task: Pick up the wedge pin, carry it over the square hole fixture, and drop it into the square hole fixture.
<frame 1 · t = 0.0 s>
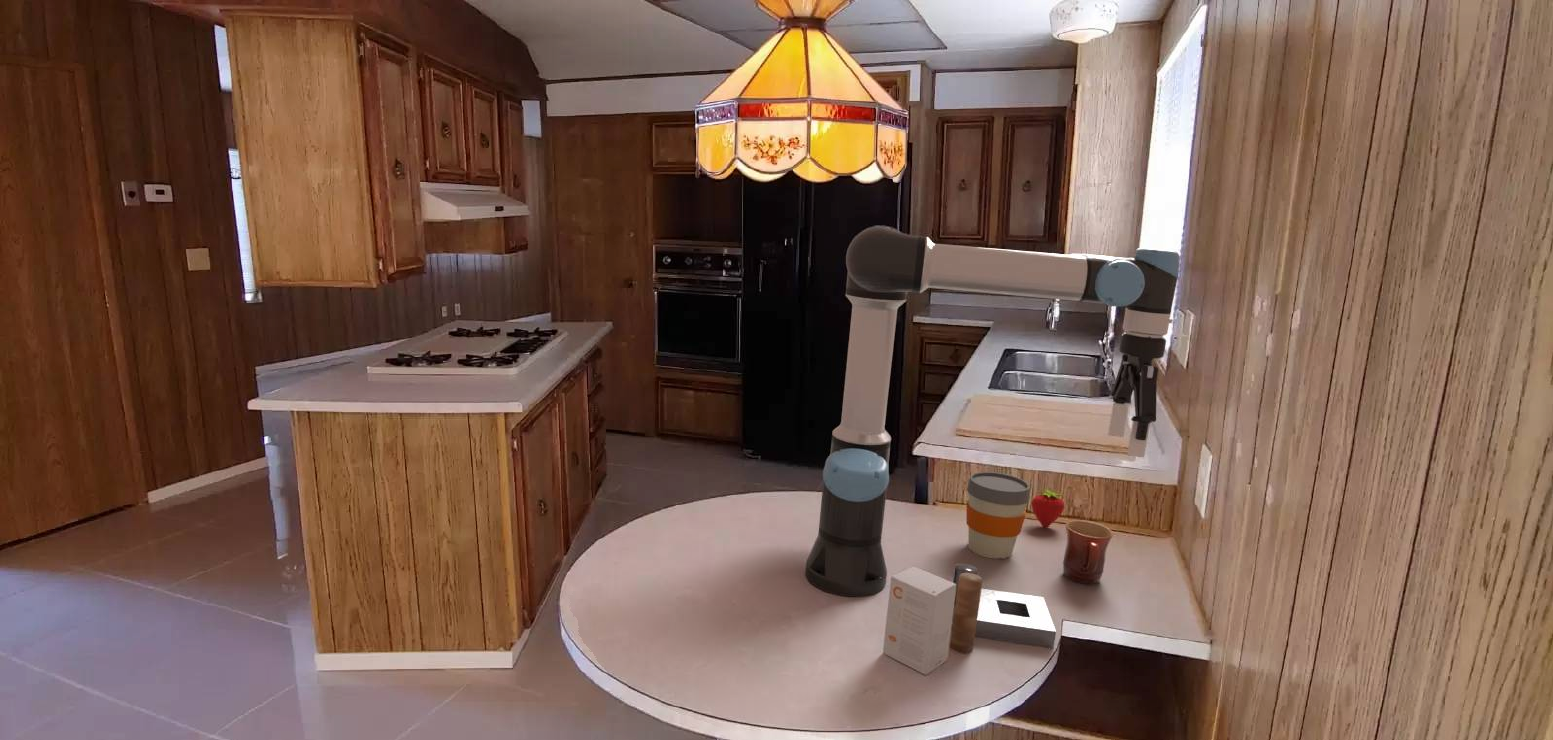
hand: (1125, 445, 150), 28 cm above the counter, fingers open, 13 cm apart
reusable coffee cup: (989, 550, 168), on the counter
wedge pin: (961, 647, 128), on the counter
square hole fixture: (998, 622, 137), on the counter
strawberry: (1044, 527, 183), on the counter
mug: (1082, 582, 156), on the counter
small box: (914, 658, 124), on the counter
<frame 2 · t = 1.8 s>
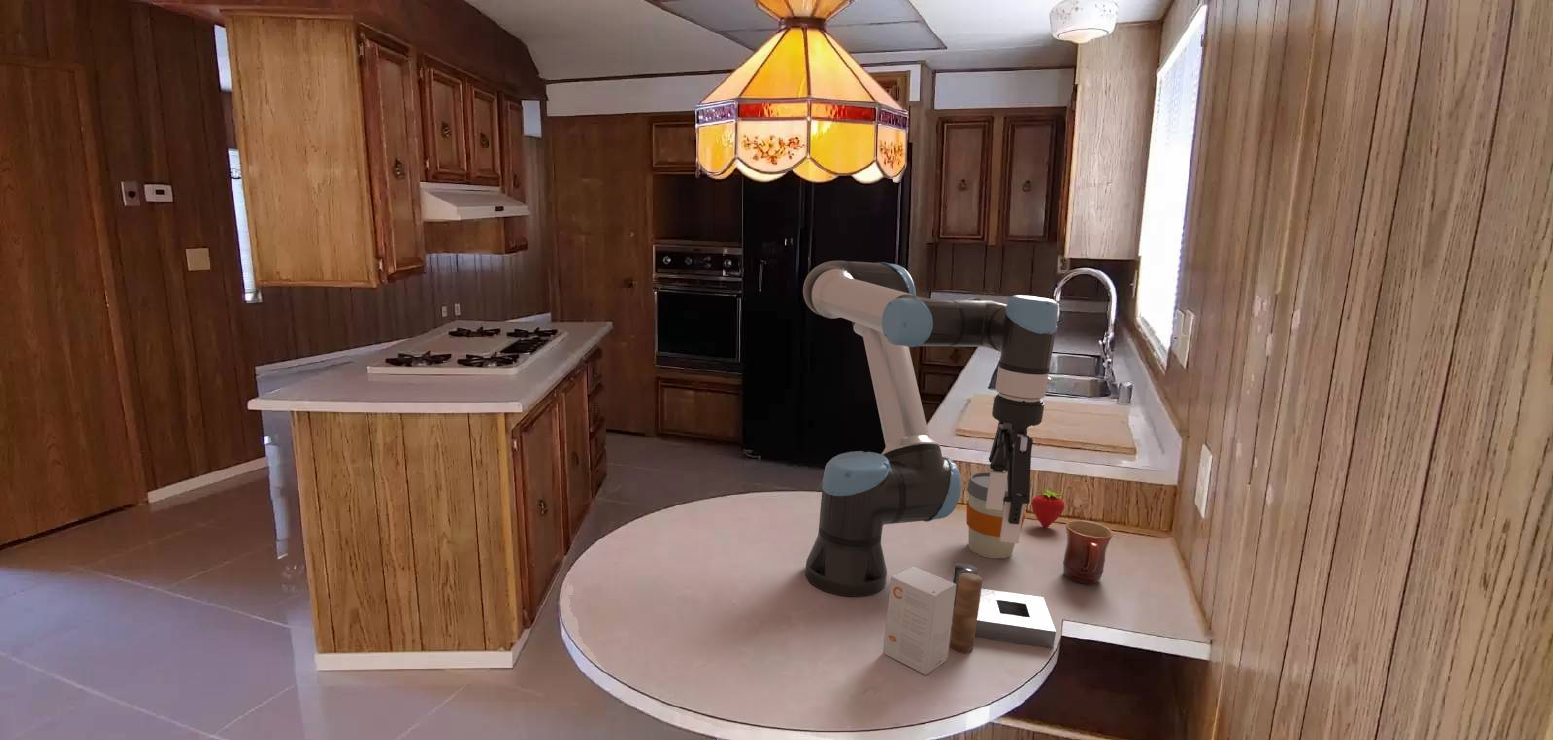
hand: (1000, 524, 128), 20 cm above the counter, fingers open, 13 cm apart
nothing on the counter moved.
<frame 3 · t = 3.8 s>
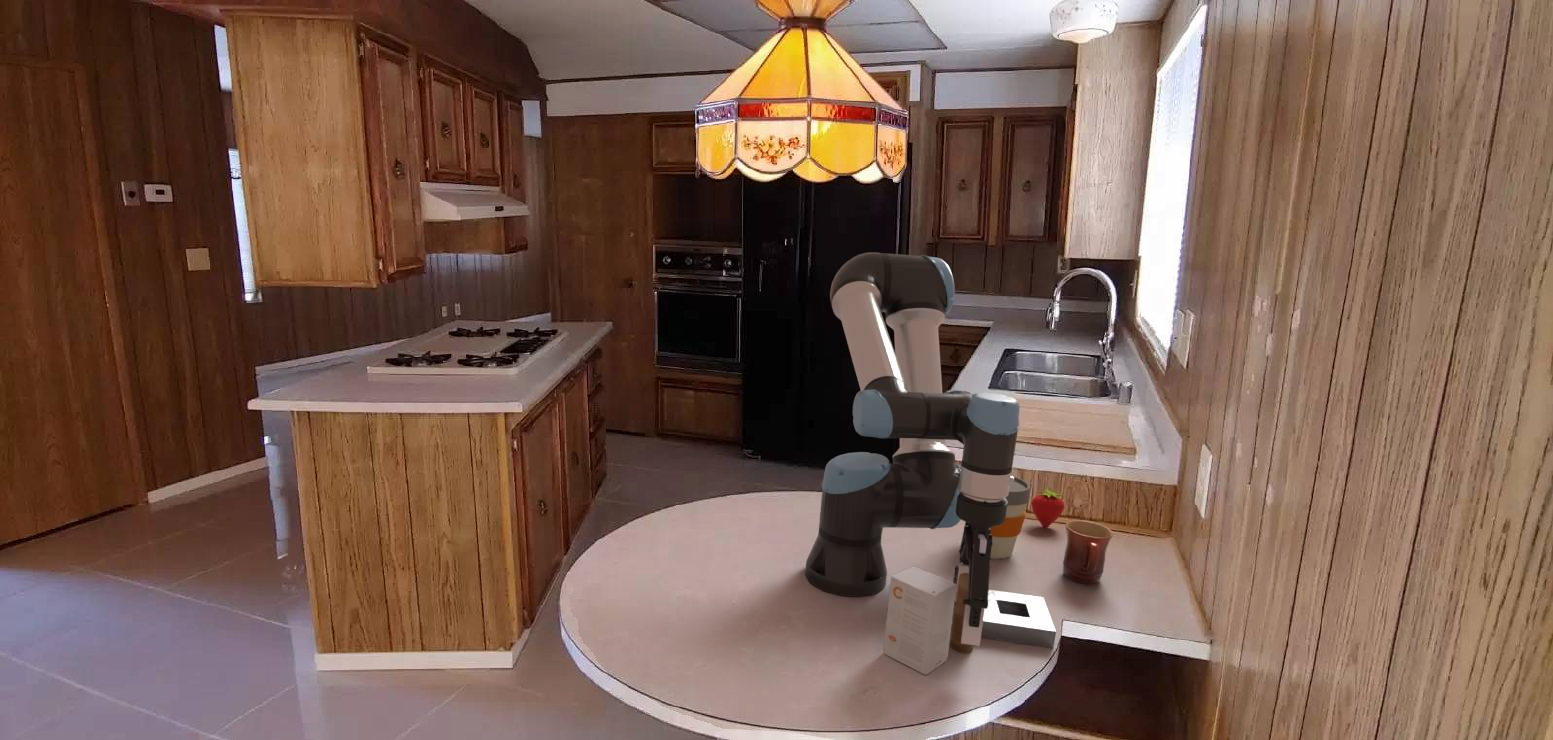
hand: (966, 622, 126), 5 cm above the counter, fingers open, 13 cm apart
nothing on the counter moved.
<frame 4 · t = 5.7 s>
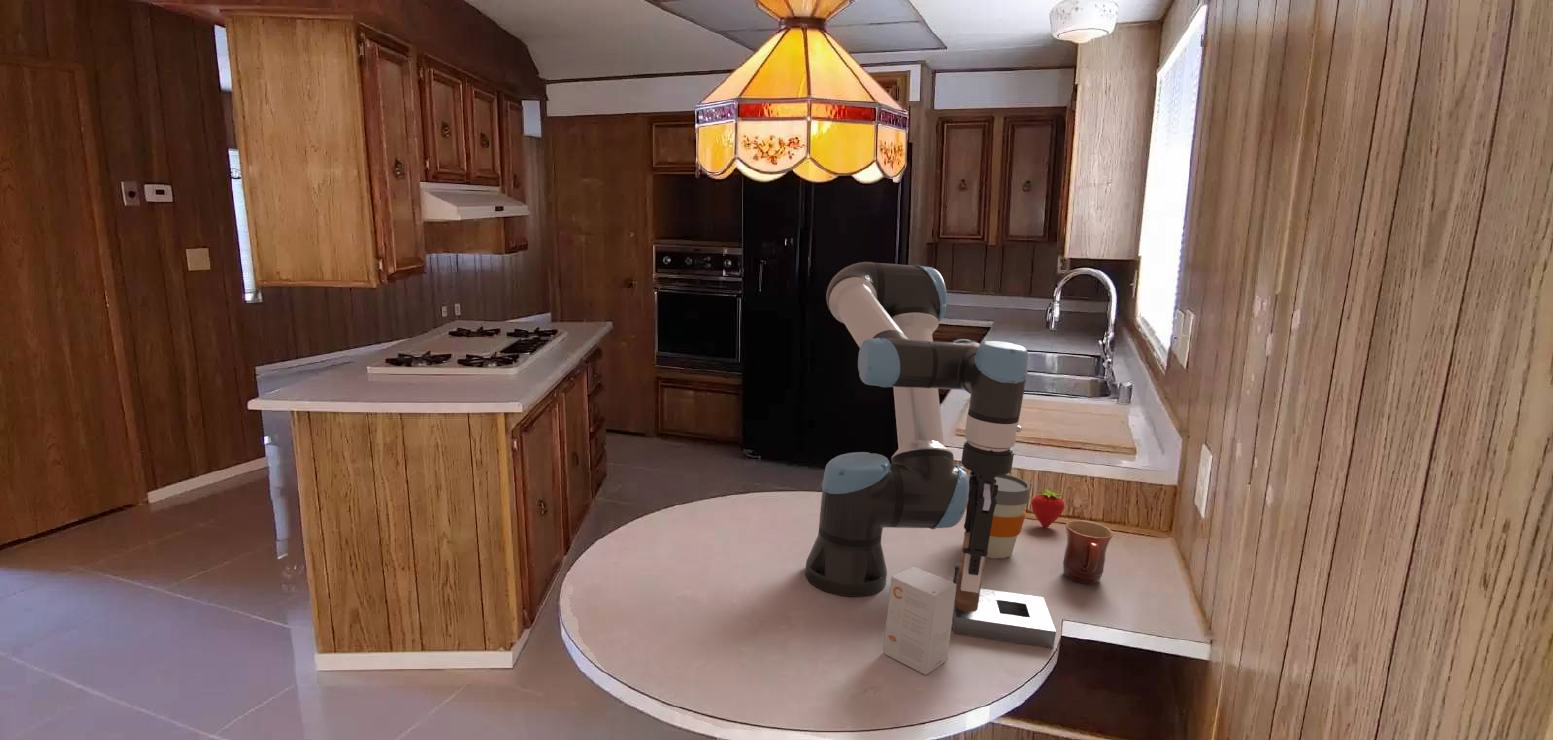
hand: (968, 584, 126), 11 cm above the counter, fingers closed on wedge pin, 3 cm apart
wedge pin: (966, 606, 127), point 7 cm above the counter, touching gripper
everything else where it was.
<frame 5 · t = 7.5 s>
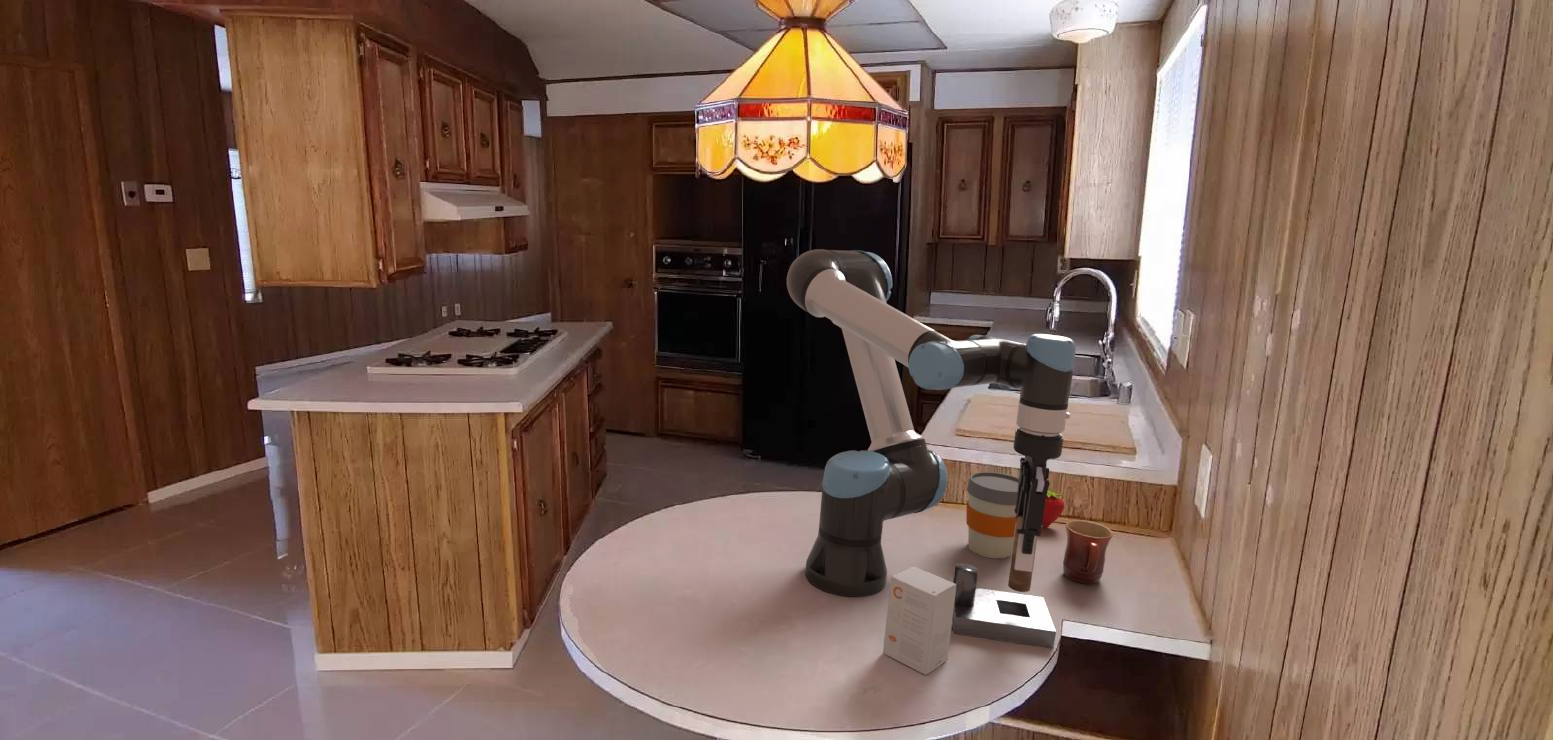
hand: (1021, 564, 134), 11 cm above the counter, fingers closed on wedge pin, 3 cm apart
wedge pin: (1019, 587, 135), point 7 cm above the counter, touching gripper
everything else where it was.
when the fingers open (4 cm above the counter, at t = 9.2 s): wedge pin stays where it is, resting in square hole fixture.
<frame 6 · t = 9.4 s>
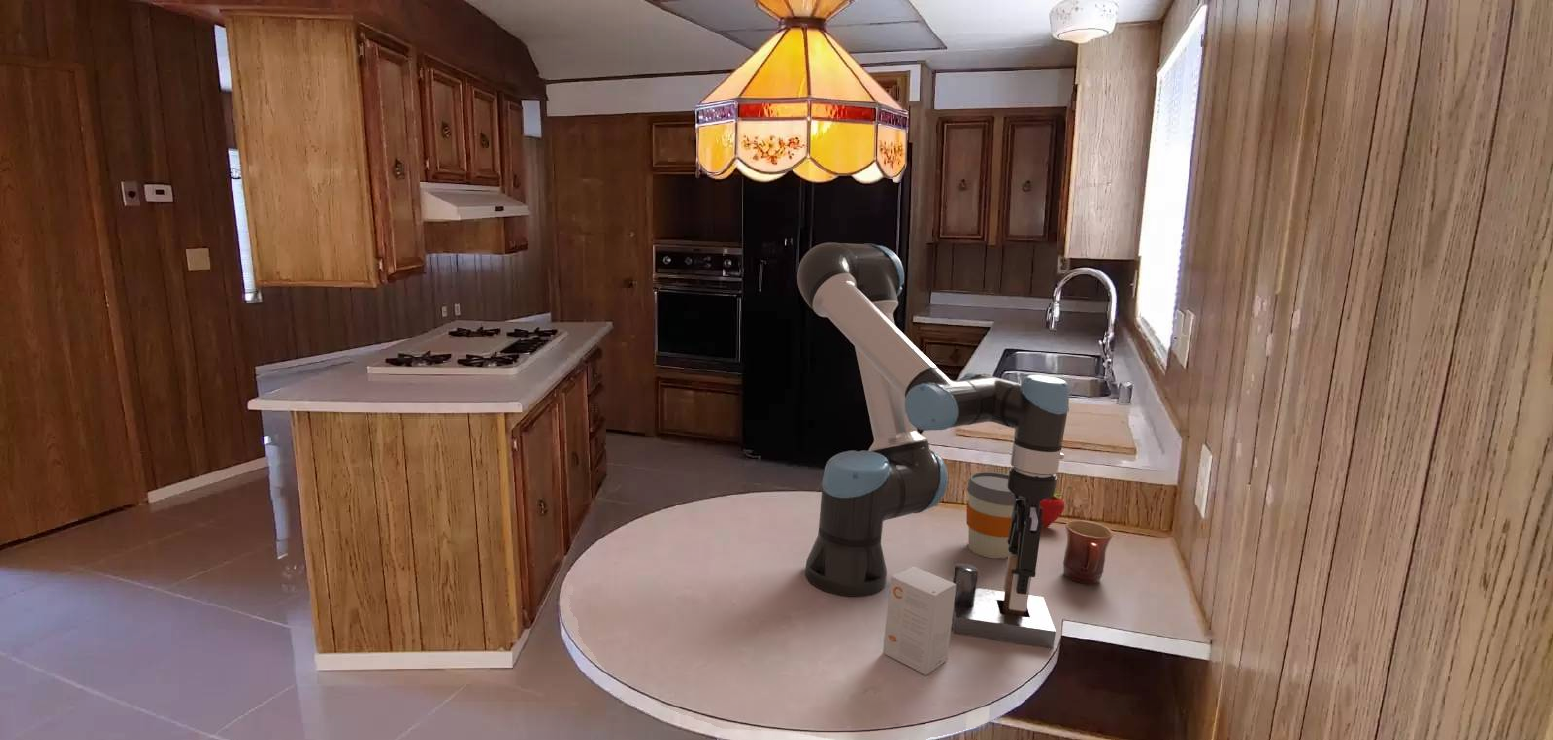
hand: (1014, 599, 136), 5 cm above the counter, fingers open, 6 cm apart
wedge pin: (1011, 624, 136), resting in square hole fixture
everything else where it was.
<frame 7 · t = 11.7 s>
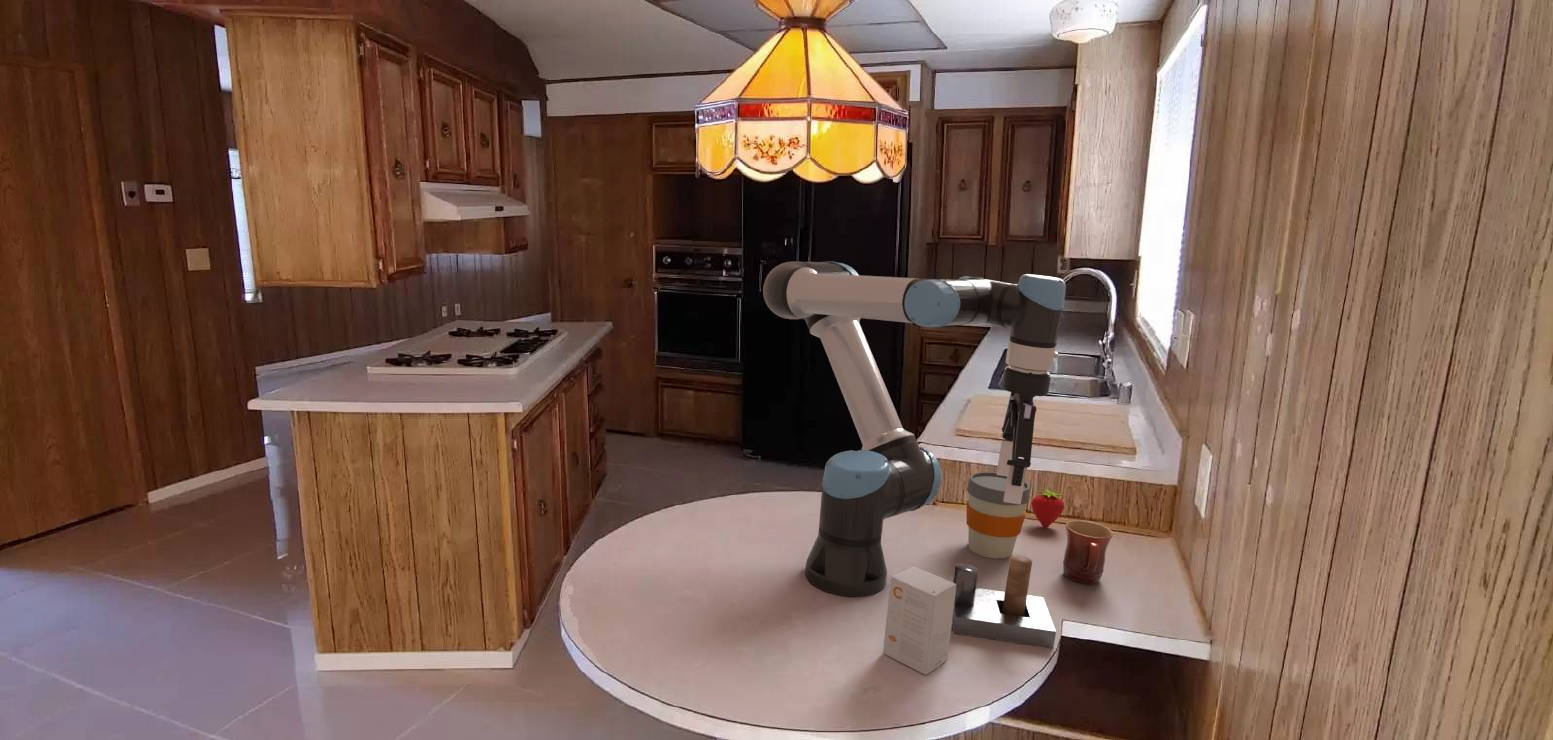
hand: (1007, 488, 137), 22 cm above the counter, fingers open, 13 cm apart
nothing on the counter moved.
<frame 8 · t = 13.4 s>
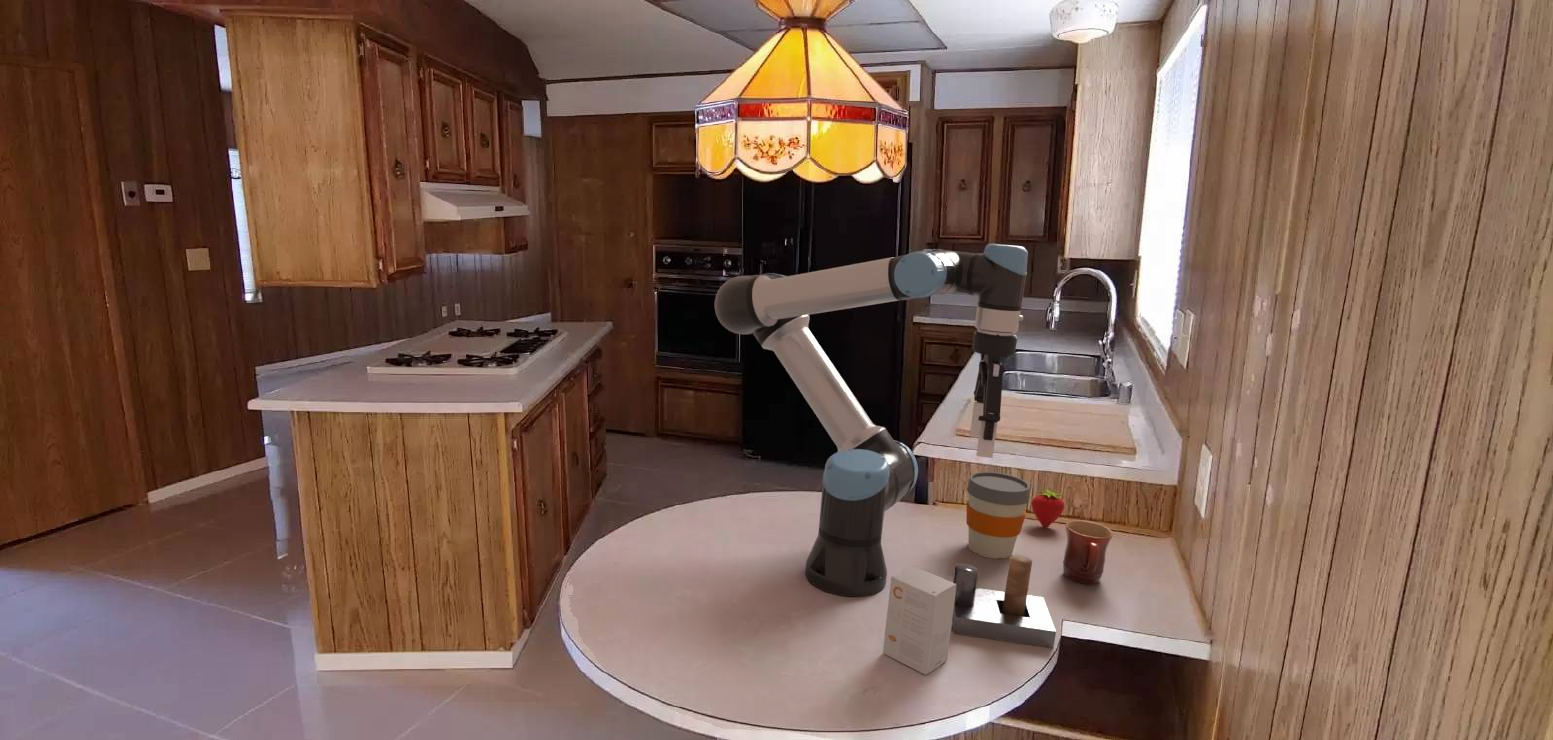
hand: (980, 446, 147), 27 cm above the counter, fingers open, 13 cm apart
nothing on the counter moved.
at the end: wedge pin 0.1 cm from the target spot on the square hole fixture, point 0.0 cm above the square hole fixture's base; wedge pin tilted 0°; the gripper is holding nothing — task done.
